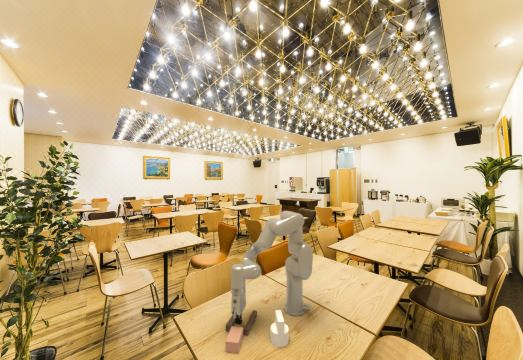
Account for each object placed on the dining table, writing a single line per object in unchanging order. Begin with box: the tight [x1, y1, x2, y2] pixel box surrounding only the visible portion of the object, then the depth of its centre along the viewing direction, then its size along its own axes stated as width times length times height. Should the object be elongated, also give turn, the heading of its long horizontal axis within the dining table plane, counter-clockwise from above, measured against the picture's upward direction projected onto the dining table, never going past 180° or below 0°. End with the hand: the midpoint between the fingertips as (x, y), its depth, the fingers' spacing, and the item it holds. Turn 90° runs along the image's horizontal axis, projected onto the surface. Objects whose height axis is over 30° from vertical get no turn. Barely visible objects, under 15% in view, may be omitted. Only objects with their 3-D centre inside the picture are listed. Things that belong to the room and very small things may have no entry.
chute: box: [225, 309, 258, 337], centre depth 115 cm, size 12×16×3 cm
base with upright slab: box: [269, 309, 290, 348], centre depth 103 cm, size 9×9×12 cm
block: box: [225, 325, 244, 354], centre depth 101 cm, size 6×10×5 cm, turn 172°
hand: (238, 323), depth 110 cm, fingers closed
